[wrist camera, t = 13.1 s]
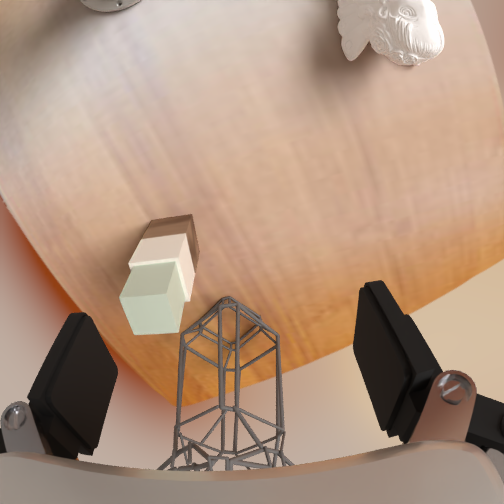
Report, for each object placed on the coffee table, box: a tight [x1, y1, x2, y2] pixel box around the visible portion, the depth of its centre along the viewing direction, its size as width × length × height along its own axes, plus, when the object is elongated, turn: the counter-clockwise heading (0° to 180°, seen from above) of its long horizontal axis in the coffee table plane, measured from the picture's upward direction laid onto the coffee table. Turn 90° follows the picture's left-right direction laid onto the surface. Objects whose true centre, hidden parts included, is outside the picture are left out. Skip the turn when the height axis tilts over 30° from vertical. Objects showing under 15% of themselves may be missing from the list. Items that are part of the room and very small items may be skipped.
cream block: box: [128, 233, 195, 302], centre depth 39 cm, size 6×6×6 cm
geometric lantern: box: [157, 296, 294, 471], centre depth 40 cm, size 16×16×35 cm
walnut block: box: [142, 214, 200, 273], centre depth 44 cm, size 6×6×6 cm
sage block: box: [119, 261, 185, 335], centre depth 33 cm, size 5×5×6 cm
